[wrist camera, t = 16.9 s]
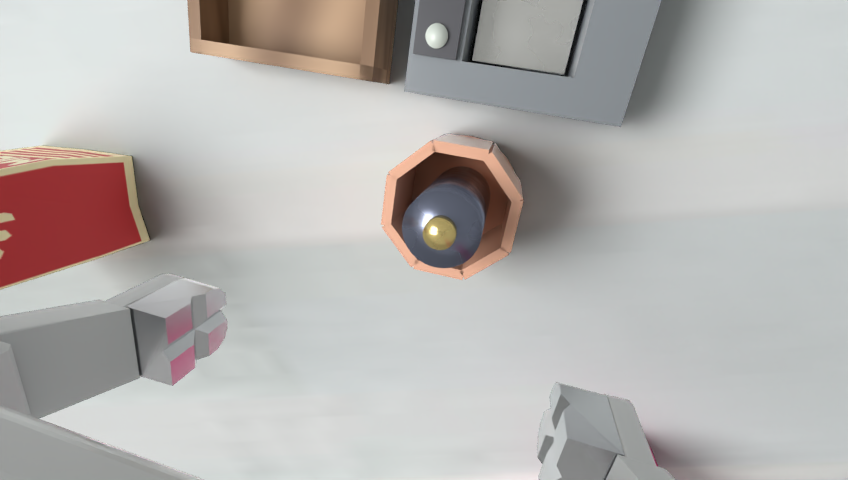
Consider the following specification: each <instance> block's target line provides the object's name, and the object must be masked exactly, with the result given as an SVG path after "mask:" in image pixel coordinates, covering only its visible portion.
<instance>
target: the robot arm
mask: <svg viewBox="0 0 848 480" xmlns="http://www.w3.org/2000/svg"><path fill="white" fill-rule="evenodd" d="M225 305H226V295H225V292H224V291H223V290H222V289H220V288H217V287H214V286H211V285H208V284H204V283H201V282H198V281H194V280H191V279H188V278H184V277H181V276H177V275H173V274H161V275H159V276H157V277H155V278H152V279H150V280H148V281H146V282H144V283H142V284H140V285H138V286H136V287H134V288H131V289H129V290H127V291H125V292H123V293H121V294H119V295H117V296H115V297H113V298H110V299H108V300H106V301H103V300H94V301H88V302H82V303H76V304H70V305H64V306H58V307H52V308H46V309H40V310H34V311H29V312H23V313H17V314H11V315H5V316H0V480H204V479H201V478H198V477H195V476H193V475H190V474H187V473H185V472H182V471H179V470H176V469H174V468H171V467H168V466H166V465H163V464H160V463H157V462H155V461H152V460H149V459H147V458H144V457H141V456H138V455H136V454H133V453H130V452H128V451H125V450H122V449H119V448H117V447H114V446H111V445H109V444H106V443H103V442H100V441H98V440H95V439H92V438H90V437H87V436H84V435H81V434H79V433H76V432H73V431H71V430H68V429H65V428H62V427H60V426H57V425H54V424H52V423H49V422H46V421H43V420H41V419H39V418H42V417H44V416H47V415H49V414H52V413H54V412H57V411H59V410H62V409H64V408H67V407H69V406H72V405H74V404H76V403H79V402H81V401H84V400H86V399H89V398H91V397H94V396H96V395H99V394H101V393H104V392H106V391H109V390H111V389H114V388H116V387H119V386H121V385H124V384H126V383H129V382H131V381H133V380H136V379H138V378H140V376H141V377H145V378H148V379H152V380H155V381H158V382H162V383H165V384H169V385H172V386H173V385H174V384H175V383H177V382H178V381H179V380H180V379H181V378H183V377H184V376H185V375H186V374H188V373H189V372H190V371H191V370H193V369H194V368H195V366H196V361H197V359H200V358H204V357H207V356H210V355H211V354H212V353H213V352H214V351H215V350H217V349H218V348H219V346H220V344H221V343H222V341H223V340H224V338H225V335H226V331H227V319H226V317H225V316H224V314H223V313H222V311H221V310H222V309H223V308H224V307H225ZM550 407H551V408H550V409H548V410H546V411H545V412H544V413H543V417H542V420H541V423H540V428H539V433H538V442H537V454H538V459H539V460H540V461H541V463H542V464H543V465H542V468H541V471H540V473H539V480H676V479H675V478H674V477H673V476H672V475H671V474H670V473H669V472H668V471H667V470H666V469H664V468H661V467H658V466H656V463H655V460H654V458H653V455H652V453H651V450H650V447H649V445H648V442H647V440H646V437H645V434H644V432H643V429H642V426H641V424H640V421H639V419H638V416H637V413H636V411H635V408H634V406H633V404H632V403H631V402H630V401H629V400H626V399H622V398H618V397H614V396H610V395H606V394H604V395H603V394H599V393H595V392H591V391H588V390H584V389H580V388H577V387H573V386H569V385H566V384H562V383H558V382H556V383H555V385H554V386H553V388H552V391H551V394H550Z"/></svg>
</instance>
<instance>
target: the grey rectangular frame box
mask: <svg viewBox="0 0 848 480" xmlns="http://www.w3.org/2000/svg"><path fill="white" fill-rule="evenodd" d="M661 1H662V0H587V1H586V5H585V8H584V12H583V16H582V20H581V24H580V27H579V31H578V35H577V39H576V43H575V47H574V50H573V54H572V58H571V62H570V66H569V70H568V73H567V77H564V76H558V75H551V74H544V73H538V72H531V71H524V70H517V69H511V68H504V67H497V66H491V65H484V64H477V63H470V62H469V59H470V54H471V48H472V42H473V37H474V31H475V25H476V20H477V14H478V8H479V3H480V0H415V8H414V16H413V24H412V32H411V40H410V48H409V56H408V64H407V72H406V80H405V88H404V91H405V92H411V93H417V94H423V95H429V96H436V97H442V98H448V99H454V100H460V101H466V102H472V103H478V104H484V105H491V106H497V107H503V108H509V109H515V110H521V111H527V112H533V113H539V114H546V115H552V116H558V117H564V118H570V119H576V120H582V121H588V122H594V123H601V124H607V125H613V126H619V127H621V125H622V122H623V119H624V116H625V113H626V110H627V106H628V103H629V100H630V97H631V94H632V91H633V88H634V85H635V82H636V78H637V75H638V72H639V69H640V66H641V63H642V60H643V57H644V54H645V50H646V47H647V44H648V41H649V38H650V35H651V32H652V29H653V26H654V22H655V19H656V16H657V13H658V10H659V7H660V4H661Z"/></svg>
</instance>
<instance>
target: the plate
mask: <svg viewBox="0 0 848 480" xmlns="http://www.w3.org/2000/svg"><path fill="white" fill-rule="evenodd" d="M582 3H583V0H483V2H482V7H481V13H480V19H479V24H478V30H477V35H476V41H475V47H474V52H473V58H472V61H473V62H479V63H485V64H492V65H499V66H506V67H512V68H519V69H526V70H532V71H539V72H546V73H553V74H559V75H563V74H564V73H565V69H566V65H567V61H568V58H569V54H570V50H571V46H572V42H573V38H574V34H575V31H576V27H577V23H578V19H579V15H580V11H581V7H582Z"/></svg>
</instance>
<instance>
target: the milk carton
mask: <svg viewBox="0 0 848 480" xmlns="http://www.w3.org/2000/svg"><path fill="white" fill-rule="evenodd" d="M147 241H150V239H149V236H148V233H147V230H146V227H145V224H144V221H143V218H142V215H141V212H140V209H139V206H138V198H137V191H136V183H135V176H134V168H133V161H132V156H127V155H120V154H113V153H106V152H99V151H92V150H85V149H74V148H63V147H52V146H34V147H26V148H19V149H11V150H3V151H0V290H1V289H4V288H7V287H10V286H13V285H17V284H20V283H23V282H26V281H29V280H32V279H35V278H39V277H42V276H45V275H48V274H51V273H54V272H57V271H61V270H64V269H67V268H70V267H73V266H76V265H79V264H83V263H86V262H89V261H92V260H95V259H98V258H101V257H104V256H107V255H110V254H112V253H115V252H118V251H121V250H124V249H127V248H130V247H133V246H136V245H138V244H141V243H144V242H147Z"/></svg>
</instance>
